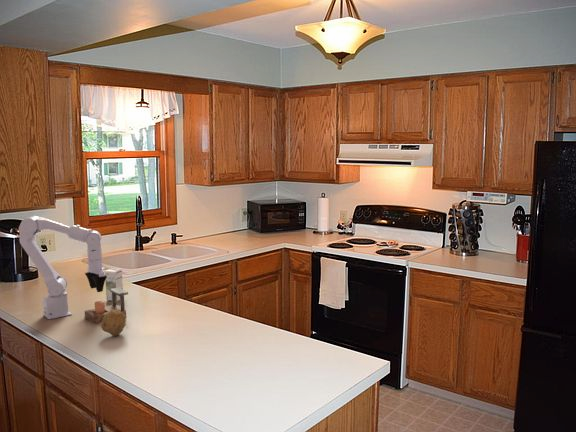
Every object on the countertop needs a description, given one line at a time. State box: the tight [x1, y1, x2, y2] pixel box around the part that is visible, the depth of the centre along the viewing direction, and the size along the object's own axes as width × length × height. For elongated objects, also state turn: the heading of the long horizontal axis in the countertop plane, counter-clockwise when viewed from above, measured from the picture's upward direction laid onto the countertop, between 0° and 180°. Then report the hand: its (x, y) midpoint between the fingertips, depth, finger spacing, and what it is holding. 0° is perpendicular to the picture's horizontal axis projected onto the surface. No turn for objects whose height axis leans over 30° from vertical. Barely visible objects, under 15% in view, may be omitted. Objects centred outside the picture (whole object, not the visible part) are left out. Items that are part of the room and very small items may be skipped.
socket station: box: [84, 287, 129, 325], centre depth 220 cm, size 15×11×10 cm
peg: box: [93, 300, 106, 314], centre depth 218 cm, size 4×4×7 cm
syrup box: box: [104, 268, 124, 302], centre depth 245 cm, size 6×6×14 cm
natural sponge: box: [100, 310, 127, 337], centre depth 198 cm, size 9×9×10 cm
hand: (96, 289), depth 226 cm, fingers open, 7 cm apart
